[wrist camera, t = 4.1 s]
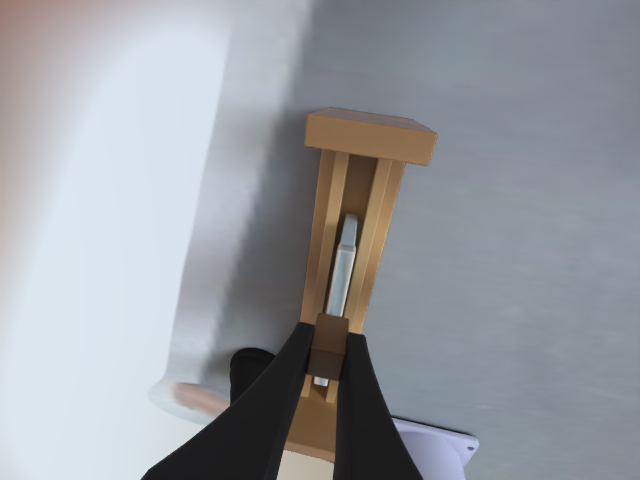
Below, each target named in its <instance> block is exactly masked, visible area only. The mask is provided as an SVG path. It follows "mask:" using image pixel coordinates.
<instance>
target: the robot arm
mask: <svg viewBox="0 0 640 480" xmlns="http://www.w3.org/2000/svg"><path fill="white" fill-rule="evenodd" d="M314 327H315V325H314V324H309V323H305V322H299V323H297V325H296V327H295V329H294V331H293V333H292V334H291V336H290V337H289V339H288V340H287V342H286V343H285V345H284V346H283V347H282V349H281V350H280V351H279V353H278V354H277V355H276V357H275V358H274V359H273V361H272V362H271V363H270V364H269V365H268V367H267V368H266V369H265V370H264V371H263V372H262V374H261V375H260V376H259V377H258V378H257V379H256V380H255V381H254V382H253V384H252V385H251V386H250V387H249V388H248V389H247V390H246V391H245V392H244V393H243V394H242V395H241V396H240V397H239V398H238V399H237V400H236V401H235V402H234V403H232V404H231V405H230V406H229V407H228V408H227V409H226V410H225V411H224V412H223V413H222V414H220V415H219V416H218V417H217V418H216V419H215V420H214V421H212V422H211V423H210V424H209V425H207V426H206V427H205V428H204V429H202V430H201V431H200V432H199V433H198V434H196V435H195V436H194V437H193V438H191V439H190V440H189V441H188V442H186V443H185V444H184V445H182V446H181V447H180V448H178V449H177V450H175V451H174V452H172V453H171V454H170V455H168V456H167V457H166V458H164V459H163V460H161V461H160V462H159V463H157V464H156V465H154V466H153V467H151V468H150V469H149V470H148V471H147V472H146V474H145V475H144V476H143V477H142V479H141V480H276V479H277V475H278V471H279V466H280V462H281V458H282V454H283V450H284V446H285V443H286V439H287V436H288V433H289V430H290V427H291V424H292V420H293V417H294V414H295V411H296V408H297V405H298V402H299V398H300V395H301V392H302V389H303V386H304V382H305V377H306V369H307V363H308V356H309V350H310V345H311V341H312V336H313V332H314ZM478 447H479V442H478V439H477V438H476V437H473V436H469V435H465V434H460V433H456V432H452V431H448V430H443V429H439V428H435V427H430V426H426V425H422V424H417V423H413V422H409V421H404V420H400V419H396V418H392V417H391V415H390V413H389V410H388V408H387V405H386V403H385V400H384V398H383V395H382V393H381V390H380V387H379V384H378V381H377V379H376V376H375V373H374V369H373V366H372V363H371V359H370V356H369V352H368V347H367V343H366V337H365V336H364V335H362V334H357V333H352V332H349V333H348V339H347V349H346V357H345V361H344V365H343V369H342V373H341V378H340V381H339V383H338V390H337V415H336V444H335V462H334V473H333V480H466V478H465V474H464V470H463V468H464V466H465V465H466V464H467V462H468V461H469V459H470V458H471V457H472V455H473V454H474V452H475V451H476V449H477V448H478Z"/></svg>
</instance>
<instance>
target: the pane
mask: <svg viewBox="0 0 640 480" xmlns="http://www.w3.org/2000/svg"><path fill="white" fill-rule="evenodd" d="M357 220H358V215H356V214H351V213H346V217H345V222H344V227H343V232H342V236H341V241H340V244H339V245H338V250H337V255H336V261H335V266H334V272H333V277H332V283H331V289H330V294H329V300H328V305H327V311H326V314H324V313H318V315H317V319H316V323H315V327H314V332H313V336H312V341H311V345H310V350H309V356H308V363H307V369H306V374H307V375H310V376H315V378H314V384H318V385H322V386H327V384H328V380H333V381H337V382H339V381H340V378H341V373H342V369H343V365H344V361H345V357H346V349H347V339H348V332H349V319H348V318H343V317H342V314H343V309H344V304H345V300H346V295H347V290H348V286H349V281H350V276H351V271H352V267H353V262H354V257H355V252H356V247H355V239H356V229H357Z"/></svg>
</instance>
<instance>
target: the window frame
mask: <svg viewBox="0 0 640 480" xmlns="http://www.w3.org/2000/svg"><path fill="white" fill-rule="evenodd" d="M437 137H438V134H437V133H436V132H434V131H432V130H431V129H429V128H427V127H425V126H424V125H422V124H420V123H418V122H416V121H415V120H413V119H407V118H400V117H394V116H387V115H380V114H373V113H367V112H360V111H353V110H346V109H340V108H333V107H330V108H327V109H323V110H320V111H316V112H313V113H310V114H308V115H307V121H306V131H305V141H304V145H305V146H306V147H310V148H317V149H322V150H321V158H320V166H319V174H318V182H317V190H316V198H315V206H314V214H313V222H312V230H311V238H310V246H309V254H308V262H307V270H306V278H305V286H304V294H303V302H302V310H301V318H300V322H305V323H309V324H314V325H315V323H316V319H317V315H318V313H324V314H326V311H327V305H328V300H329V294H330V289H331V283H332V277H333V272H334V266H335V261H336V255H337V250H338V245H339V244H340V241H341V236H342V232H343V227H344V222H345V217H346V213H351V214H356V215H358V220H357V229H356V239H355V247H356V252H355V257H354V262H353V267H352V271H351V276H350V281H349V286H348V290H347V295H346V300H345V304H344V309H343V314H342V317H343V318H348V319H349V332H352V333H357V334H361V331H362V327H363V323H364V319H365V315H366V312H367V308H368V304H369V300H370V296H371V293H372V289H373V285H374V281H375V278H376V274H377V270H378V266H379V262H380V259H381V255H382V251H383V247H384V244H385V240H386V236H387V232H388V228H389V225H390V221H391V217H392V213H393V209H394V206H395V202H396V198H397V194H398V191H399V187H400V183H401V179H402V175H403V172H404V168H405V164H406V163H410V164H416V165H423V166H428V165H429V163H430V160H431V157H432V154H433V150H434V147H435V144H436V140H437ZM349 332H348V333H349ZM314 378H315V376H310V375H307V374H306V377H305V382H304V386H303V389H302V392H301V395H300V398H299V402H298V405H297V408H296V411H295V414H294V417H293V420H292V424H291V427H290V430H289V433H288V436H287V439H286V443H285V446H284V450H288V451H292V452H296V453H300V454H304V455H308V456H312V457H316V458H320V459H324V460H328V461H332V462H335V444H336V415H337V390H338V383H339V382H337V381H333V380H328V384H327V386H322V385H318V384H314Z"/></svg>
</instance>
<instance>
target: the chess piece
mask: <svg viewBox="0 0 640 480" xmlns="http://www.w3.org/2000/svg"><path fill="white" fill-rule="evenodd" d="M274 358H275V356H273V355H272V354H270V353H268V352H266V351H263V350H260V349H254V348H247V349H243V350H240V351H238V352H237V353H236V354H235V355H234V356H233V357H232V359H231V363H230V382H231V390H230V405H231V404H232V403H234V402H235V401H236V400H237V399H238V398H239V397H240V396H241V395H242V394H243V393H244V392H245V391H246V390H247V389H248V388H249V387H250V386H251V385H252V384H253V382H254V381H255V380H256V379H257V378H258V377H259V376H260V375H261V374H262V372H263V371H264V370H265V369H266V368H267V367H268V365H269V364H270V363H271V362H272V361H273V359H274Z"/></svg>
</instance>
